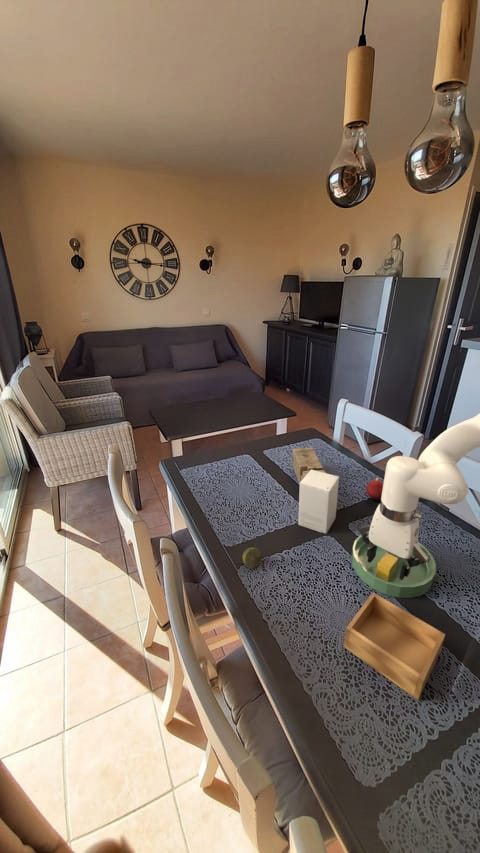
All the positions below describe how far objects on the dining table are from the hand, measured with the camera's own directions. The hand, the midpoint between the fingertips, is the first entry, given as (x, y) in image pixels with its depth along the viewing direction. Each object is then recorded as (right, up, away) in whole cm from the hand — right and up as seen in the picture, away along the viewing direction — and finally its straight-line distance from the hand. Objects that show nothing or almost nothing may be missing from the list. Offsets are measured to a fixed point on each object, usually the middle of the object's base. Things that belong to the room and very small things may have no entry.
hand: (386, 567), depth 89 cm
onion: (+8, +11, +30) cm, 32 cm away
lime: (-33, -2, +5) cm, 34 cm away
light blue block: (+4, 0, +5) cm, 6 cm away
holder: (-6, -10, -16) cm, 20 cm away
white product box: (-13, +6, +20) cm, 25 cm away
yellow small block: (0, -2, +1) cm, 2 cm away
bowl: (+2, -1, +3) cm, 4 cm away
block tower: (-11, +13, +37) cm, 41 cm away
